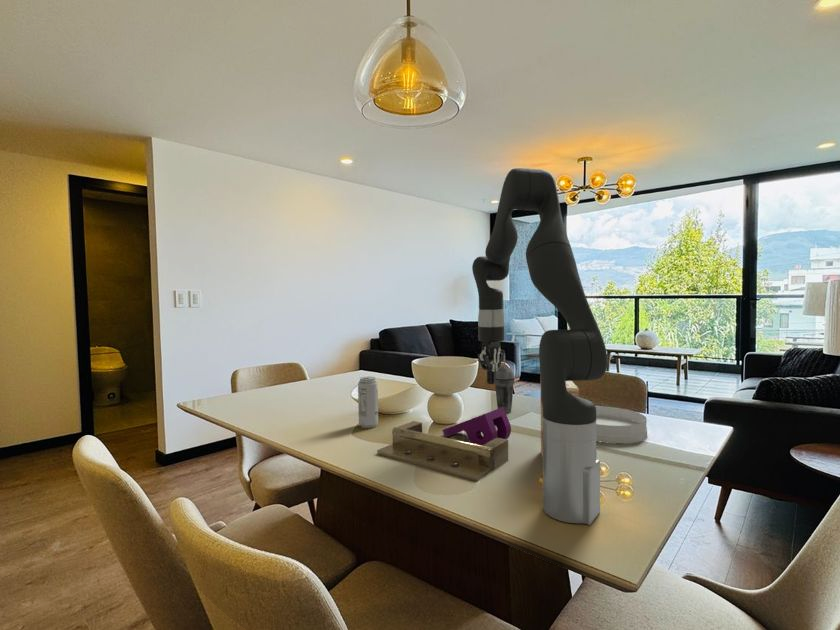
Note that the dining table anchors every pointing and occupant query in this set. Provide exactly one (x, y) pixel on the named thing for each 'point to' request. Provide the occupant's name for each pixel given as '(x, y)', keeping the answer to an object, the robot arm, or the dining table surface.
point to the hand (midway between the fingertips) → (491, 383)
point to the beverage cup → (504, 387)
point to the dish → (619, 425)
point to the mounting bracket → (483, 427)
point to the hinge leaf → (445, 452)
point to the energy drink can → (368, 402)
